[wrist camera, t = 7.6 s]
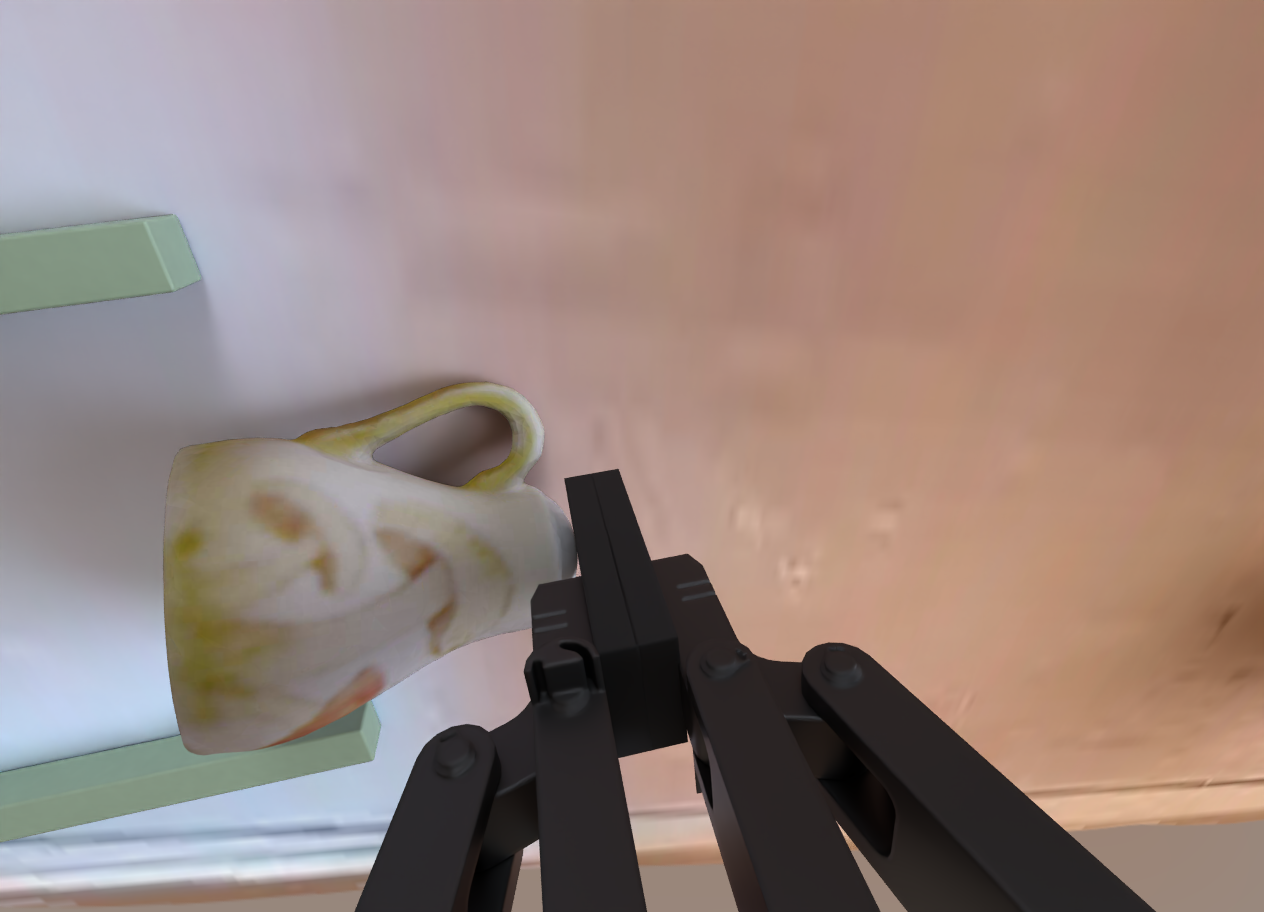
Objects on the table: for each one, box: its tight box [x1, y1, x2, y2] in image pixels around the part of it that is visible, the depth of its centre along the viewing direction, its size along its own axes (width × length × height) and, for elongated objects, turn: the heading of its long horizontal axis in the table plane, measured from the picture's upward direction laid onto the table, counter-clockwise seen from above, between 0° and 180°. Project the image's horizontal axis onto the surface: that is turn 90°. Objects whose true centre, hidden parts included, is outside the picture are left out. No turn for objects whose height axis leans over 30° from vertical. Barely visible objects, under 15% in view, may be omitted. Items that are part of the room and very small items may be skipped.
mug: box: [163, 382, 577, 755], centre depth 16 cm, size 8×10×10 cm
